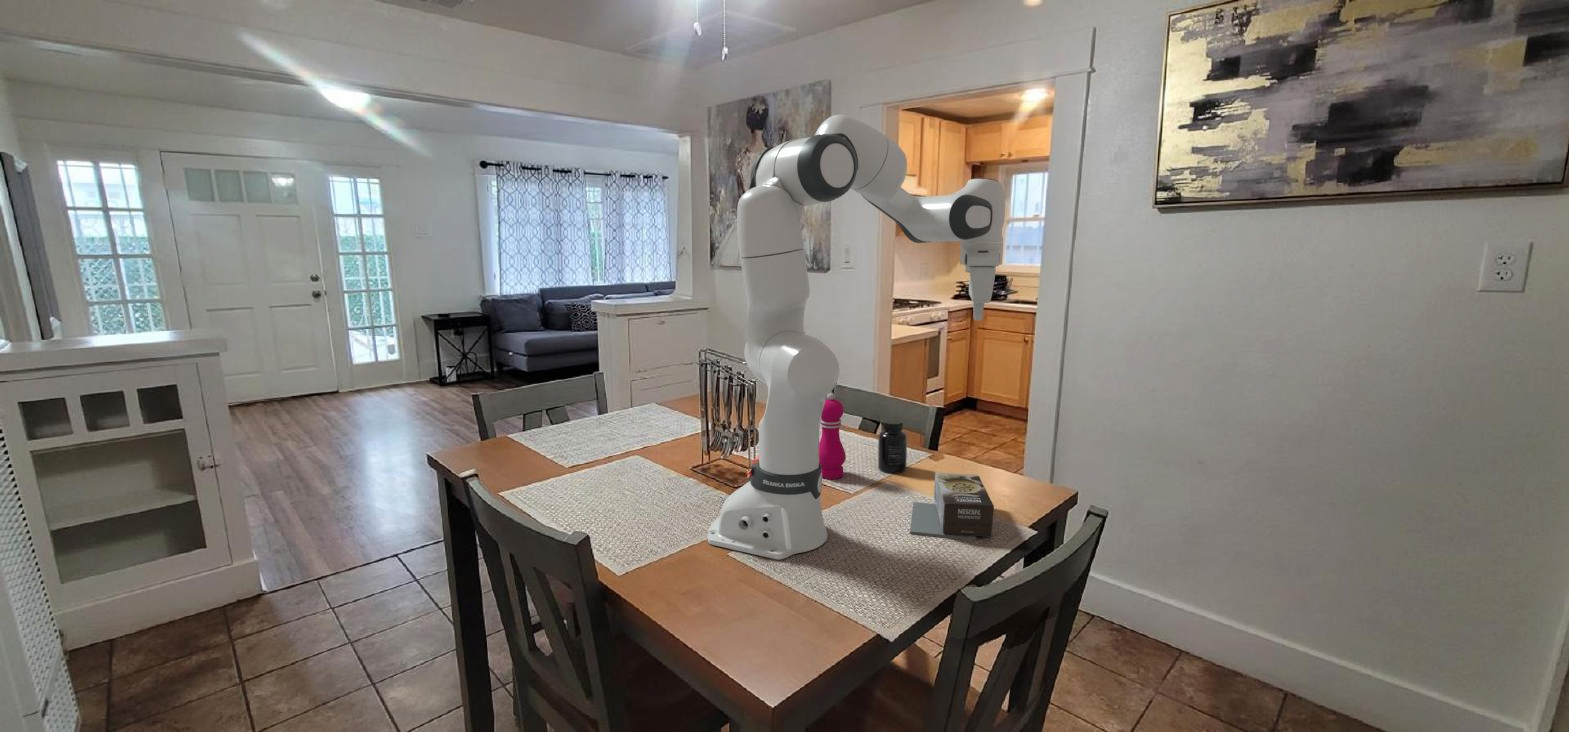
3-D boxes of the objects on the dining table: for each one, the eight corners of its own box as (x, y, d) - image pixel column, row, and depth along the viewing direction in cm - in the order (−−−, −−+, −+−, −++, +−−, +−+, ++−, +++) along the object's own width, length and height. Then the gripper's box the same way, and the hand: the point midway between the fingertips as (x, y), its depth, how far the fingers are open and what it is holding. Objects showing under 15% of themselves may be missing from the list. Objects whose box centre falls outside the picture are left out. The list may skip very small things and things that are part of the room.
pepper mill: (810, 471, 151) (810, 390, 147) (838, 467, 153) (839, 388, 149) (821, 481, 144) (821, 397, 140) (850, 478, 146) (851, 395, 142)
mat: (909, 533, 118) (910, 531, 118) (913, 504, 132) (913, 501, 131) (976, 540, 115) (976, 538, 115) (972, 509, 129) (972, 507, 129)
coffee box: (979, 473, 130) (995, 505, 114) (977, 502, 131) (993, 538, 115) (934, 471, 131) (945, 502, 115) (932, 500, 132) (943, 535, 116)
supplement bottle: (910, 467, 153) (912, 420, 151) (899, 476, 147) (901, 427, 145) (884, 462, 157) (885, 416, 154) (873, 470, 151) (874, 422, 149)
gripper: (964, 255, 146) (961, 314, 149) (967, 257, 127) (964, 325, 130) (992, 255, 145) (989, 314, 148) (1000, 257, 125) (996, 326, 128)
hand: (977, 319), depth 139 cm, fingers closed
